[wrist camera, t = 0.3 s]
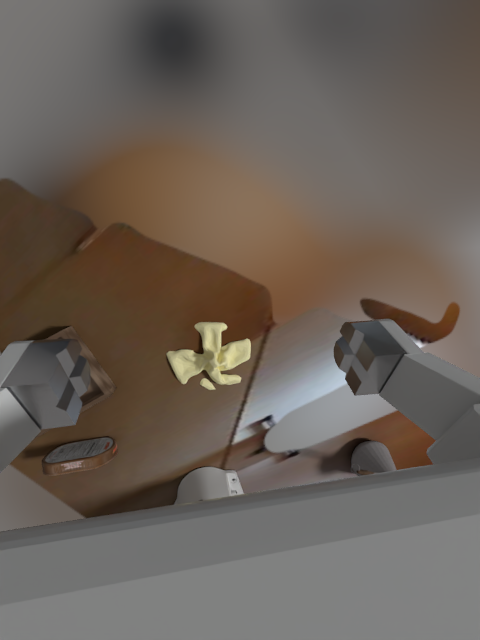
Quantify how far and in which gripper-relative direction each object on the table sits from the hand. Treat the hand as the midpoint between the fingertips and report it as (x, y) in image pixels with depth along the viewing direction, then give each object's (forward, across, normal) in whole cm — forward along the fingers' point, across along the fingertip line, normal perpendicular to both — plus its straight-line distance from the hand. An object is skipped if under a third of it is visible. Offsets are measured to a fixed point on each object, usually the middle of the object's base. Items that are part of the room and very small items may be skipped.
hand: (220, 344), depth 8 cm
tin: (+30, -29, -58) cm, 71 cm away
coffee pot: (+25, +41, -69) cm, 84 cm away
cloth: (+39, +3, -43) cm, 58 cm away
